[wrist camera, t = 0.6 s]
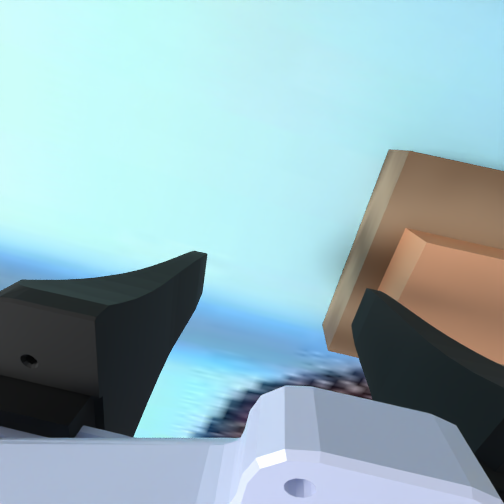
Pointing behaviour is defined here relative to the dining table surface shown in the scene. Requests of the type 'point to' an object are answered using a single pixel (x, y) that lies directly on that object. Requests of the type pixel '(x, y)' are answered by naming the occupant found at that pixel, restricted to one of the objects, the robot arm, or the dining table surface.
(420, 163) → the stand
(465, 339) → the orange flat block
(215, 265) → the dining table surface
